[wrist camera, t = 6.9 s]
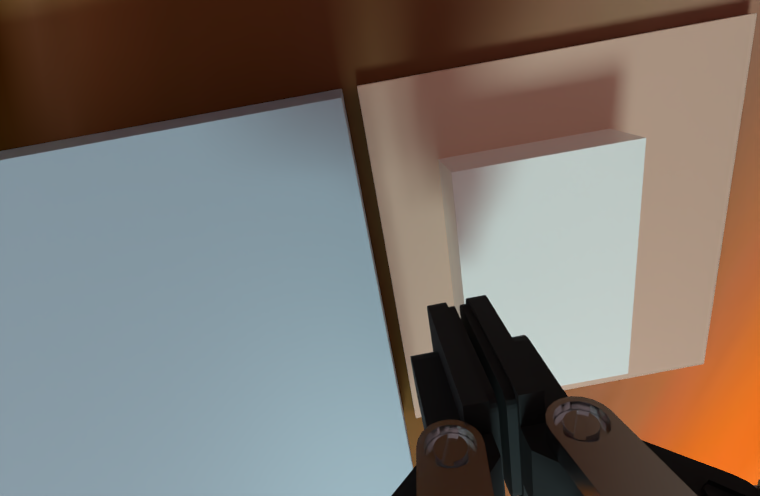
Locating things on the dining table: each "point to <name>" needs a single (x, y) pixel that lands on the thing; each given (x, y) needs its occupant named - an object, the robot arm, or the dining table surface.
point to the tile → (551, 244)
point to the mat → (565, 118)
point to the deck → (196, 312)
